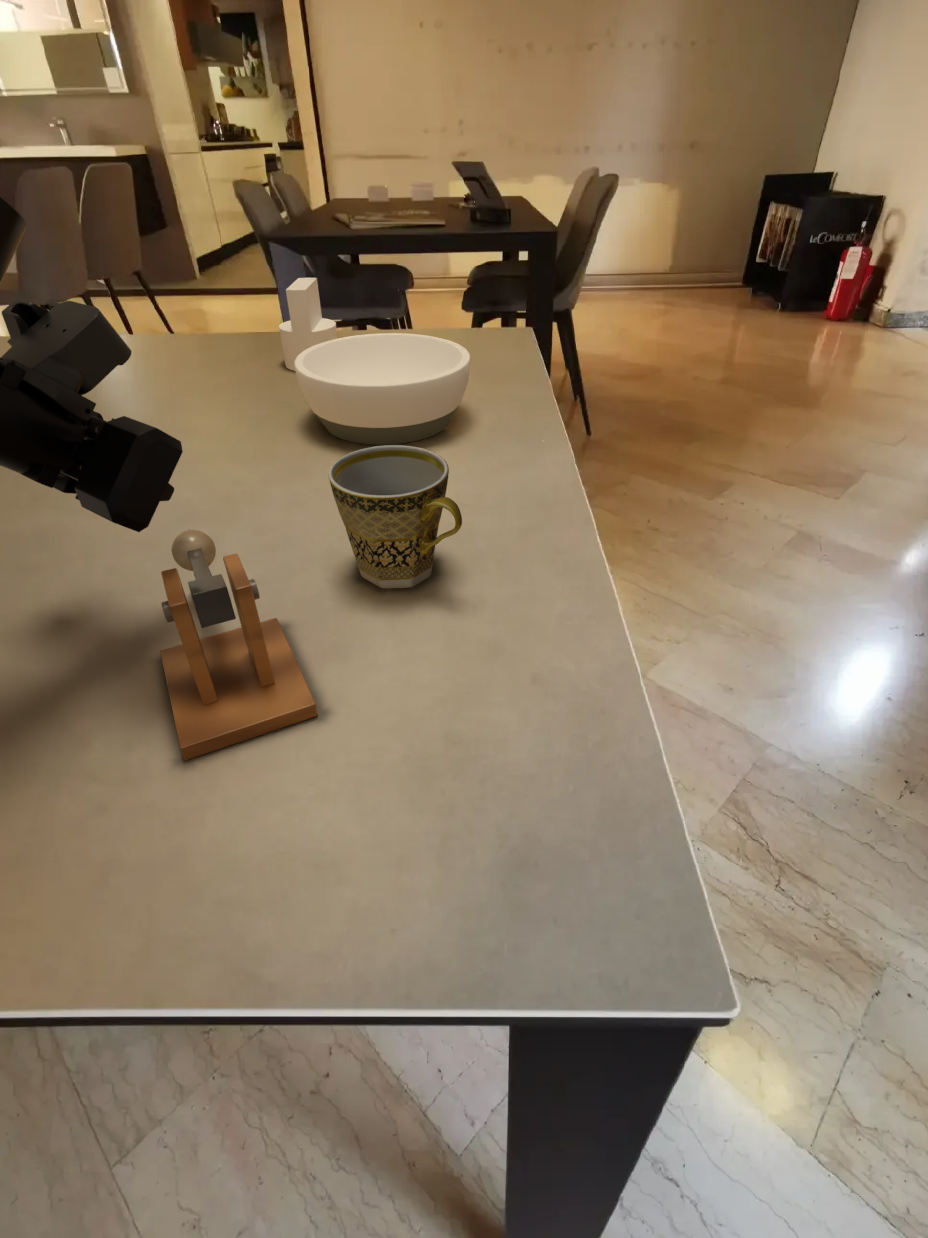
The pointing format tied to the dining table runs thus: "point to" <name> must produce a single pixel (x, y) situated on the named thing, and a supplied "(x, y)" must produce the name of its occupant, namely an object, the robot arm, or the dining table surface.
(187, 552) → the lever
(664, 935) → the dining table surface
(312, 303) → the cylinder with rectangular tab
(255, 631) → the bracket
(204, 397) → the dining table surface
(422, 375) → the bowl
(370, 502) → the ceramic cup
